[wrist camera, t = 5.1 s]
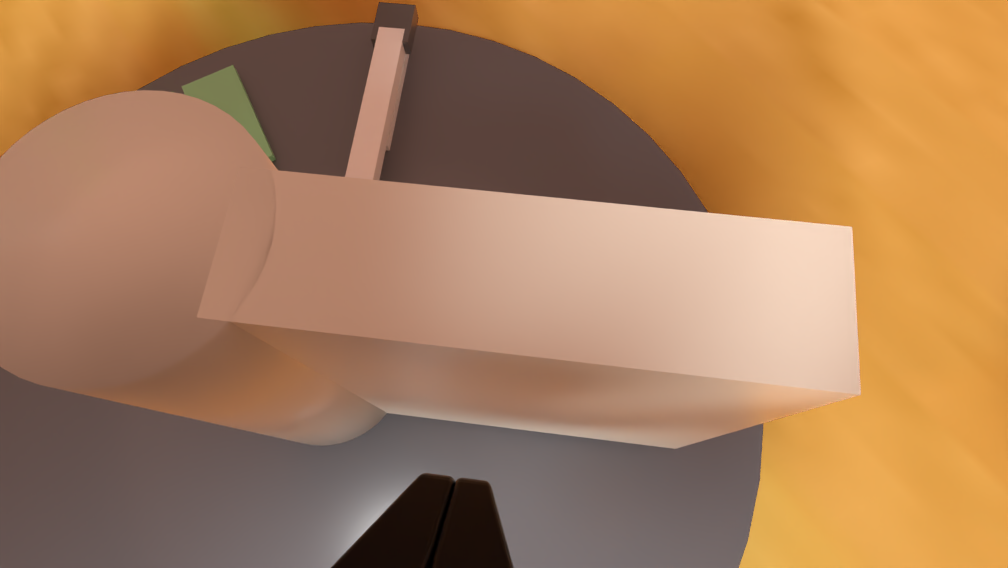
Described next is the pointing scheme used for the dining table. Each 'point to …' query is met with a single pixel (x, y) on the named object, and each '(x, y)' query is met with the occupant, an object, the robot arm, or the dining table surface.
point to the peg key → (396, 287)
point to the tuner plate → (396, 438)
